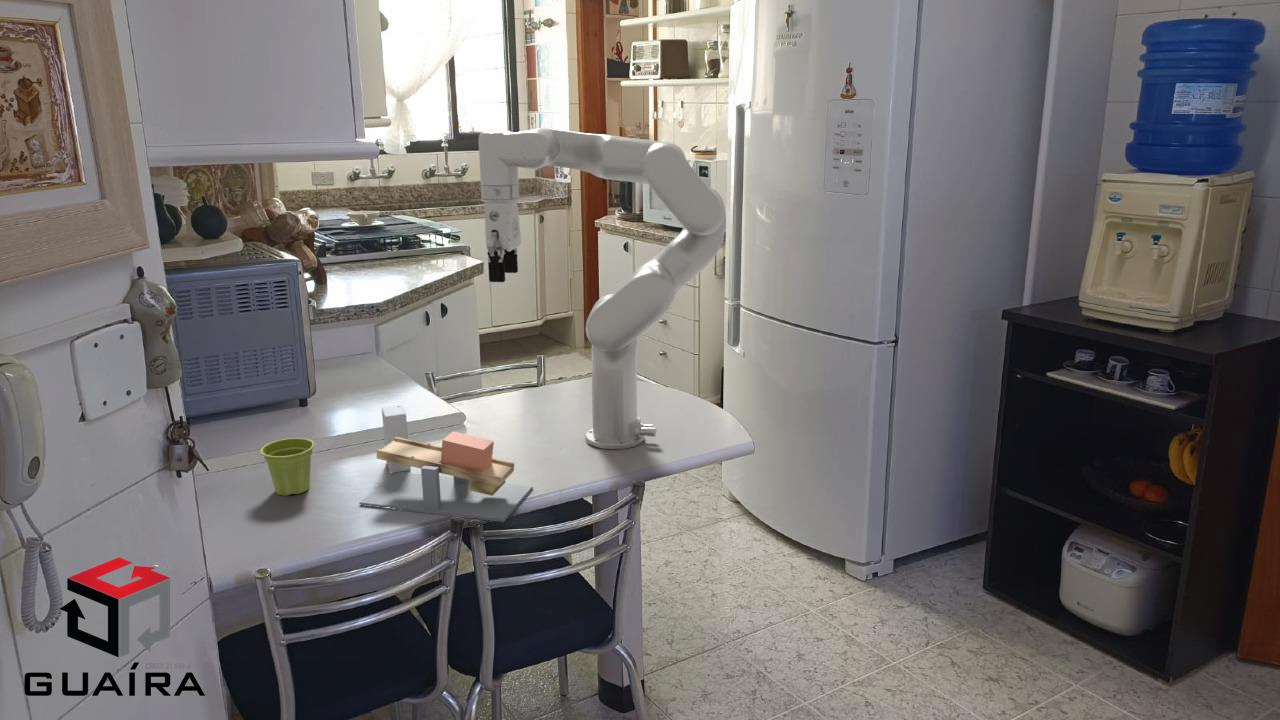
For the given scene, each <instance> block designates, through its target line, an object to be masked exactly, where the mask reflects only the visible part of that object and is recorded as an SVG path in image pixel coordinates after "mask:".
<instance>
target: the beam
mask: <svg viewBox="0 0 1280 720" xmlns="http://www.w3.org/2000/svg"><path fill="white" fill-rule="evenodd" d="M441 452H442V446H441V445H440V446H439V445H436V444H435V445H434V444H431V443H426V442H423V441H417V440H414V439H413V440H411V439H409V438H408V439H404V438H399V437H395V438H394V441H392V442H391V443H389V444H388V445H387V446H385V445H384V447H382V448H381V449H380V448H377V450H376V459H377V460H382V461H389V462H394V463H398V464H403V465H407V466H411V467H412V468H417V469H420V470H421V468H422V467H423V466H432V467H439V474H443V475H448V476H450V477H451V476H452V477H454V476H456V477H460V478H465V479H469V480H470V491H474V492H478V493H482V494H487V495H491V496H493V495H494V494H495V493H496V492H497V491H498V489H499V488H500V487H501V486H502V485H503V484H504V483H506V479H508V478H509V477H510V476H511V475H512V474H513V473H514V472H515V462H513V461H508V460H503V459H499V458H494V457H492V463H491V464H490V465H489V466H488V467H487V468H486V469H485V470H484V471H483V472H478V471H474V470H469V469H465V468H461V467H456V466H452V465H448V464H444V463H441Z"/></svg>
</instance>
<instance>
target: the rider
mask: <svg viewBox="0 0 1280 720" xmlns="http://www.w3.org/2000/svg"><path fill="white" fill-rule="evenodd" d="M494 441H495V440H491V439H487V438H482V437H478V436H474V435H471V434H466V433H462V432H459V431H452V432H450V433H449V434H448V435H446V436H445V437H444V438H443V439H442V442H441V447H442V452H441V463H444V464H448V465H452V466H456V467H461V468H465V469H469V470H474V471H478V472H483V471H484V470H485V469H486V468H487V467H488V466H489V465H490V464H491V463H492V458H493V451H494V444H495V443H494Z"/></svg>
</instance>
